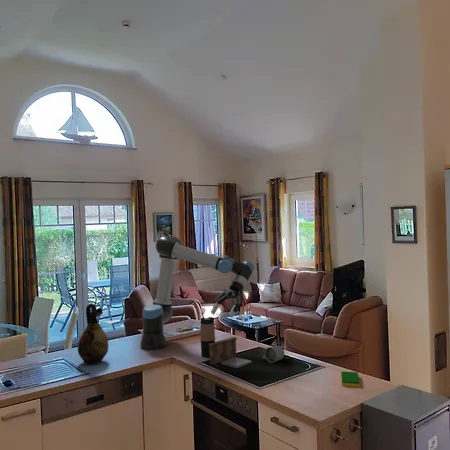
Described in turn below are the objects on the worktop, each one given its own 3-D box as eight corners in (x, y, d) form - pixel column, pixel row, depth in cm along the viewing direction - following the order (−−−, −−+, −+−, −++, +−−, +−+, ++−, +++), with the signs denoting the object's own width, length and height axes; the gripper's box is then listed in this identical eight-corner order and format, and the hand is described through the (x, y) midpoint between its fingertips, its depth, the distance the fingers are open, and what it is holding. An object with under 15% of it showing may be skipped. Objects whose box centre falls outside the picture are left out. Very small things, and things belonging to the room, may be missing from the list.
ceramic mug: (285, 360, 228) (285, 345, 229) (276, 364, 222) (275, 348, 223) (268, 357, 235) (268, 342, 236) (259, 360, 229) (258, 345, 230)
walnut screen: (212, 365, 224) (212, 344, 224) (208, 364, 225) (208, 344, 225) (237, 356, 237) (236, 337, 237) (233, 355, 239) (233, 336, 239)
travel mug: (210, 358, 235) (209, 320, 235) (198, 356, 239) (197, 319, 239) (218, 355, 241) (217, 317, 242) (206, 353, 245) (205, 316, 246)
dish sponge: (357, 377, 201) (357, 372, 201) (359, 388, 188) (359, 382, 188) (341, 376, 203) (341, 371, 203) (341, 387, 189) (341, 381, 189)
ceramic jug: (114, 361, 234) (113, 303, 234) (87, 368, 223) (86, 308, 223) (97, 355, 246) (96, 300, 246) (70, 362, 234) (69, 304, 235)
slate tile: (221, 364, 225) (220, 362, 225) (235, 359, 233) (235, 357, 233) (237, 368, 217) (237, 366, 217) (251, 362, 225) (251, 360, 225)
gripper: (258, 290, 253) (241, 321, 242) (225, 287, 270) (208, 316, 259) (252, 281, 249) (234, 313, 238) (219, 279, 266) (201, 308, 255)
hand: (221, 314), depth 248 cm, fingers open, 13 cm apart
